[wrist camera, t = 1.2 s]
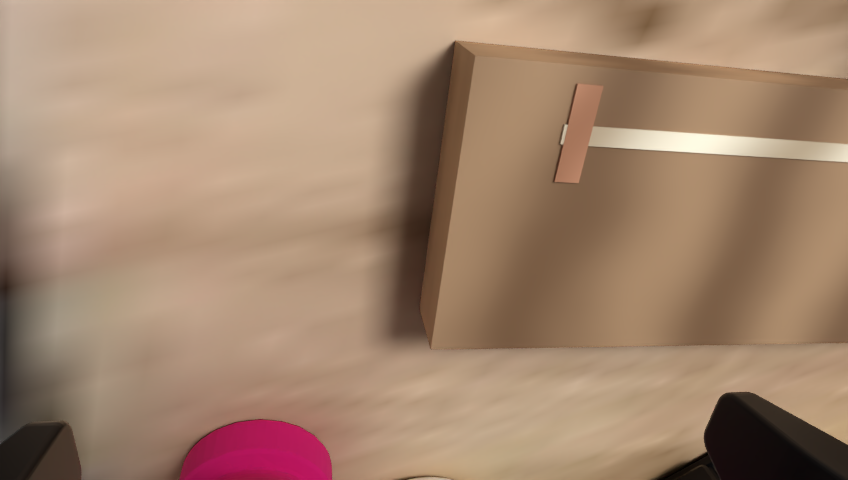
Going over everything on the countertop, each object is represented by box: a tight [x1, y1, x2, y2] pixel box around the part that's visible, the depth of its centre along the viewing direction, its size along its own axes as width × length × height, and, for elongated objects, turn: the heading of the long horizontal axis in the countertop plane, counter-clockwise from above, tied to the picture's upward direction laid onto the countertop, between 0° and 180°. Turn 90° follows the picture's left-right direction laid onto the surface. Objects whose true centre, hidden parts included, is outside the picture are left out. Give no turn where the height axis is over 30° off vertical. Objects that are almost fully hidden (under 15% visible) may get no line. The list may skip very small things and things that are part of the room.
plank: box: [419, 41, 848, 350], centre depth 21 cm, size 23×10×3 cm, turn 83°
